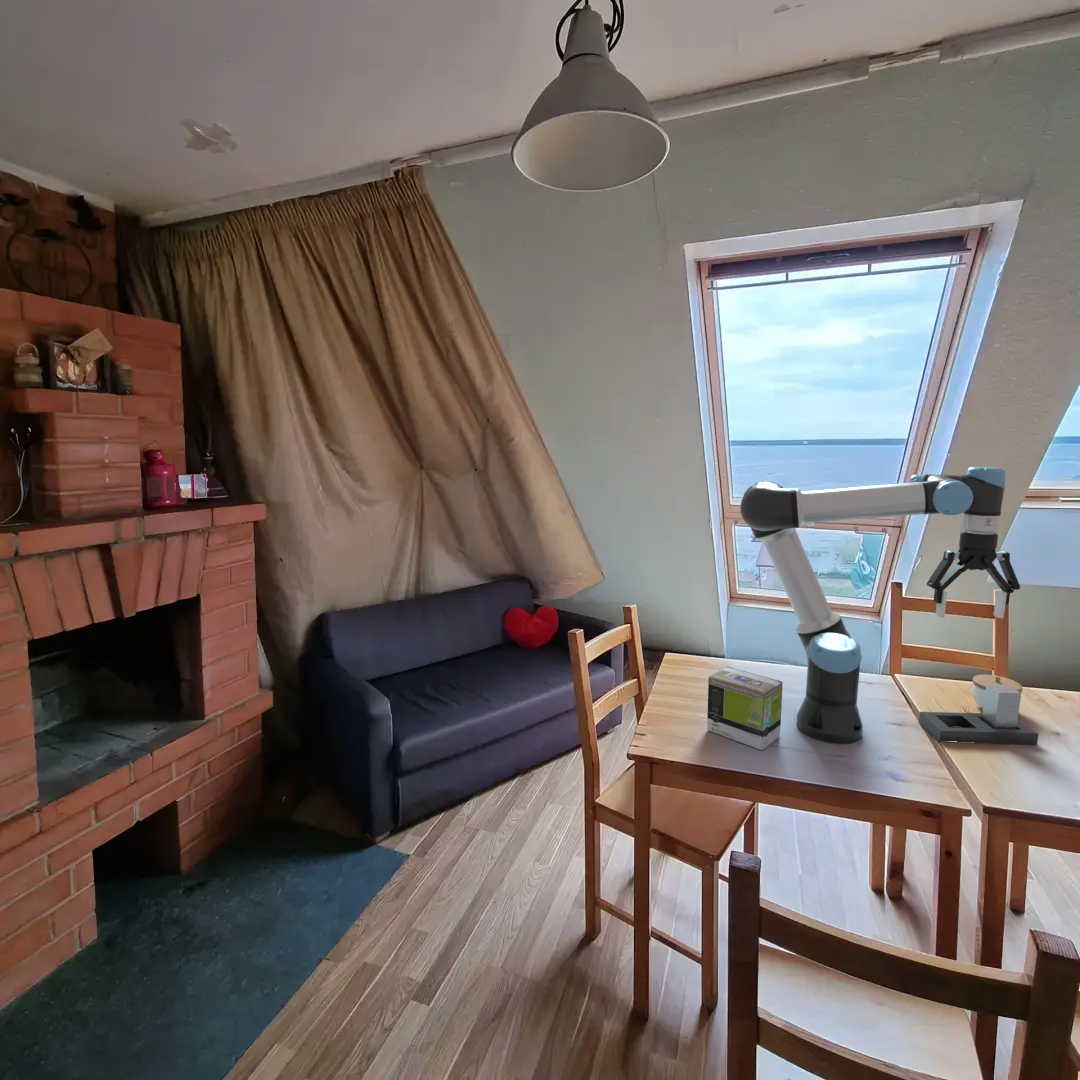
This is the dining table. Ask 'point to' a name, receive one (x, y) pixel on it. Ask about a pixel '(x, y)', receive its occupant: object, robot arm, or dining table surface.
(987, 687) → the solid steel block
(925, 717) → the dark grey flat frame
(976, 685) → the lidded jar
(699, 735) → the dining table surface
